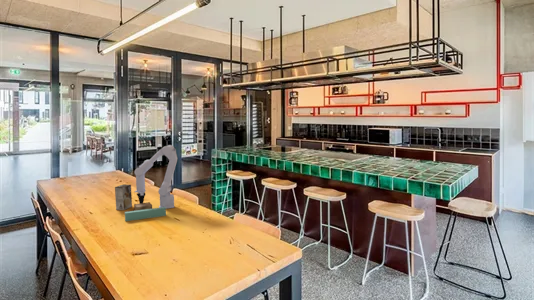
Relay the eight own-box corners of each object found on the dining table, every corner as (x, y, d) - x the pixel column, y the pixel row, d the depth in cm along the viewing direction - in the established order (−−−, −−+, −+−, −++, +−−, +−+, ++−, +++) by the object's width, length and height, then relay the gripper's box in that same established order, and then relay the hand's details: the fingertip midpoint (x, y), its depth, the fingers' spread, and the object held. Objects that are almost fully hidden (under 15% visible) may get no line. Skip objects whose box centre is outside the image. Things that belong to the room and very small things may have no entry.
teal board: (165, 214, 203) (164, 206, 203) (165, 215, 201) (165, 208, 200) (125, 219, 192) (124, 212, 192) (125, 221, 189) (125, 213, 189)
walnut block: (149, 209, 215) (149, 202, 215) (152, 212, 208) (152, 205, 208) (134, 211, 210) (134, 204, 209) (136, 214, 203) (136, 207, 203)
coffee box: (124, 206, 221) (123, 184, 220) (132, 206, 220) (131, 184, 218) (115, 209, 212) (114, 186, 211) (123, 210, 211) (122, 187, 209)
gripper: (133, 182, 221) (134, 201, 223) (135, 187, 209) (136, 206, 210) (144, 182, 225) (144, 200, 226) (146, 186, 212) (147, 205, 213)
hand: (141, 203), depth 218 cm, fingers closed
